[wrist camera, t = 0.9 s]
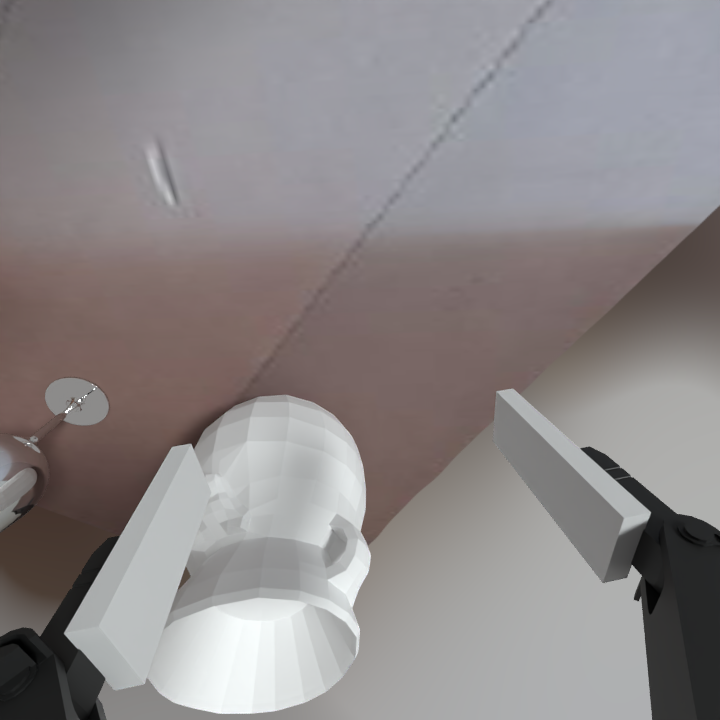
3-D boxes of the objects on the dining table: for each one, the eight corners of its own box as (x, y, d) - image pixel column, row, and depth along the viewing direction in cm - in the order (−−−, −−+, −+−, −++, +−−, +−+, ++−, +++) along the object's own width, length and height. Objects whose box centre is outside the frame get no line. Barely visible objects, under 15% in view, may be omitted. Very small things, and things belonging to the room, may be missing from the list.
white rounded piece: (309, 340, 39) (307, 519, 17) (376, 446, 47) (437, 667, 24) (176, 412, 41) (8, 665, 18) (262, 503, 48) (220, 760, 26)
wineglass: (98, 363, 37) (-68, 484, 21) (130, 423, 40) (10, 567, 24) (21, 377, 37) (-210, 513, 20) (61, 436, 40) (-110, 592, 24)
